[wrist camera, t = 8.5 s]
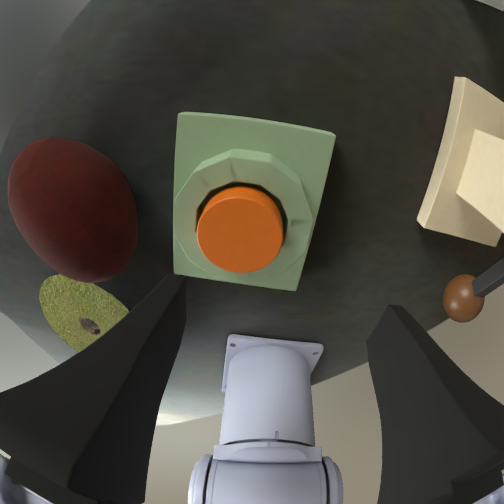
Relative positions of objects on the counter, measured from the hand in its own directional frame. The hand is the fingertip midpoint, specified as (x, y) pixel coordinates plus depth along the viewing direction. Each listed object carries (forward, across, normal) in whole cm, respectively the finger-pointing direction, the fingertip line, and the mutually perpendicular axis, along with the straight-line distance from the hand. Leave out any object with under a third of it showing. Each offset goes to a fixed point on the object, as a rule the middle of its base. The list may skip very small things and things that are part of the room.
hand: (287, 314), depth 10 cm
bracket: (+8, -13, -6) cm, 17 cm away
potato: (+9, +12, 0) cm, 15 cm away
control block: (+8, +2, 0) cm, 9 cm away
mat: (+9, +14, +12) cm, 20 cm away
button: (+6, +2, 0) cm, 6 cm away
